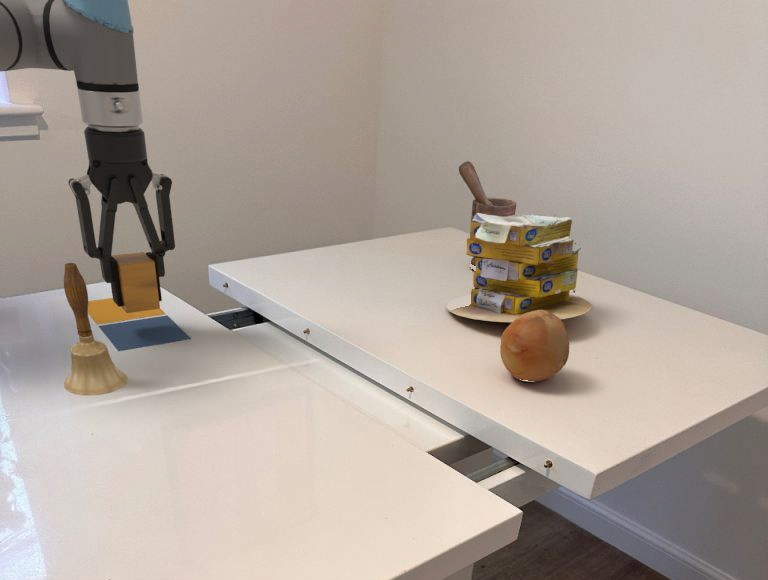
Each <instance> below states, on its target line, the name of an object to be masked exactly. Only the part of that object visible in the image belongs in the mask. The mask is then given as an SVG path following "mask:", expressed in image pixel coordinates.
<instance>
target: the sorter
mask: <svg viewBox="0 0 768 580" xmlns="http://www.w3.org/2000/svg"><path fill="white" fill-rule="evenodd" d="M88 316H89V317H90V318H91V319H92V321H93V322H94V323H95V324H96V325H97V326H98V328H99V329H100V330H101V331H102V333H103V334H104V336H105V337H106V338H107V339H108V340H109V341H110V343H111V345H113V347H114V348H115V349H116V350H117V351H118V352H124V351H129V350H135V349H141V348H147V347H153V346H159V345H164V344H170V343H176V342H182V341H188V340H192V337H191V336H189V335H188V333H186V332H185V331H184V330H183V329H182V328H181V327H180V325H178V324H177V323H176V322H175V321H174V320H173V319H172V318H171V317H170V316H169V315H167V314H166V312H165V311H163V309H161V308H160V309H154V310H147V311H139V312H132V313H126V312H125V311H124V310H123V308H122V307H121V306H120V307H118V305H117V304H116V303H115V302H114V301H113V297H109V298H102V299H95V300H88Z"/></svg>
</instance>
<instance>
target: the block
mask: <svg viewBox="0 0 768 580" xmlns="http://www.w3.org/2000/svg"><path fill="white" fill-rule="evenodd" d="M111 256H112V257H113V258H114V259H115V260H116V261H117V265H118V272H119V278H120V285H121V292H122V299H123V305H124V306H121V307H122V308H123V310H124V311H125V312H126V313H132V312H139V311H147V310H154V309H161V304H160V301H159V295H158V287H157V279H156V270H155V262H154V261H153V260H152V259H151V258H150V257H148V256H147V255H146V252H131V253H123V254H122V253H121V254H111Z"/></svg>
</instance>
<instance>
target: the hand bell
mask: <svg viewBox="0 0 768 580" xmlns="http://www.w3.org/2000/svg"><path fill="white" fill-rule="evenodd" d="M63 290H64V292H65V293H64V294H65V298H66V301H67V303H68V304H69V307H70V308H71V311H72V313H73V315H74V319H75V323H76V329H77V335H78V337H79V342H77V343H75V344H73V345H72V346H71V347H70V356H71V367H70V372H69V374H68V376H67V377H66V379H65V380H64V382H63V388H64V389H65V390H66V391H67V392H68V393H71V394H74V395H77V396H79V395H80V396H100V395H101V396H102V395H106V394H111V393H114V392H116V391H118V390H121V389H122V388H123V387H125V386H126V385H127V383H128V381H129V378H128V376H127V374H125V372H123V371H122V370H120V369H119V368H118V367H117V366H116V365H115V364H114V362H113V360H112V358H111V354H110V352H109V350H108V346H107V345H106V344H105V343H104V342H102V341H99V340H95V337H94V334H93V330H92V327H91V323H90V318H89V314H88V301H89V294H88V293H89V292H88V288H87V284H86V281H85V279H84V277H83V275H82V273H81V272H80V270H79V269H78V266H77V263H75V262H68V263H65V264H64V275H63Z"/></svg>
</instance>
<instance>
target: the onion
mask: <svg viewBox="0 0 768 580" xmlns="http://www.w3.org/2000/svg"><path fill="white" fill-rule="evenodd" d="M499 349H500V350H499V353H500V359H501V362H502V364H503V366H504V368H505V369H506V370H507V371H508V372H509V374H511V375H512V376H513V377H514V378H515V377H516V378H515V379H517V378H518V379H521V380H528V381H539V382H541V381H545V380H548V379H550V378H552V377H553V376H555V375H557V374H558V373H559V372H561V370H562V369H563V367H565V366H566V364H567V362H568V359H569V355H570V339H569V335H568V330H567V329H566V325H565V324H564V322H563V321H562V319H560V318H558V317H557V316H556V315H554V314H553V313H551V312H550V311H548V310H536V311H531V312H528V313H525V314H523V315H521V316H520V317H518V318H517V319H515V320H514V321H513V322H510V324H509V325H508V326H507V327H506V328H505V329H504V331H503V332H502V334H501V337H500V347H499ZM518 379H517V380H518ZM540 380H541V381H540Z"/></svg>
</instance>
